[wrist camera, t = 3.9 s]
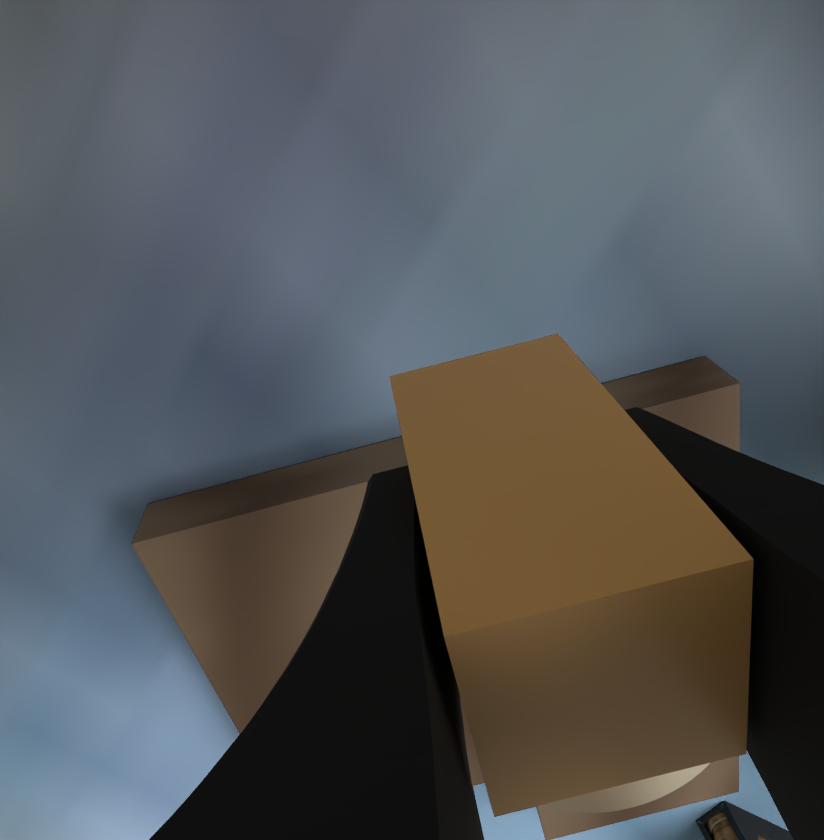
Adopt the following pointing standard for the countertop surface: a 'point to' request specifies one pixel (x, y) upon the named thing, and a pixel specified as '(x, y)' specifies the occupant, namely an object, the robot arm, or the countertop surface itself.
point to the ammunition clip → (738, 825)
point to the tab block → (572, 578)
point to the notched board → (324, 550)
